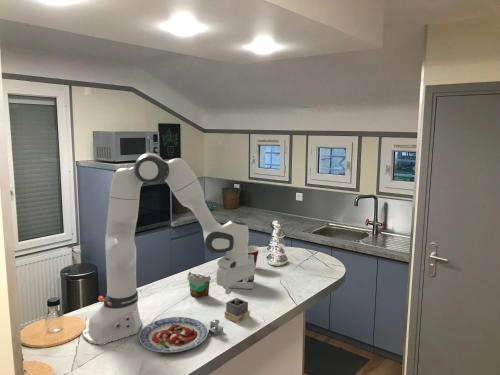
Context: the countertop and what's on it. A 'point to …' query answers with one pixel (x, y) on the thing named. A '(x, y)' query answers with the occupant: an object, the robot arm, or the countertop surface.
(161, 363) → the countertop surface
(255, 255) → the plastic cup
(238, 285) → the tea box
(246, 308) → the grey square ring
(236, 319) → the keeper
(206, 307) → the countertop surface
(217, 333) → the silver knob on block
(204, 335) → the ceramic plate
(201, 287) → the food container
